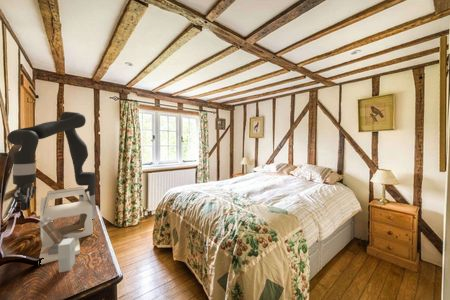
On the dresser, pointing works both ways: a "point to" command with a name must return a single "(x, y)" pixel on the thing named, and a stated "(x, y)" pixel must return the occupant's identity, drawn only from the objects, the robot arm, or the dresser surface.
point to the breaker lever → (51, 230)
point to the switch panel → (55, 256)
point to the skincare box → (66, 254)
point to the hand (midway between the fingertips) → (25, 209)
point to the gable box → (67, 214)
